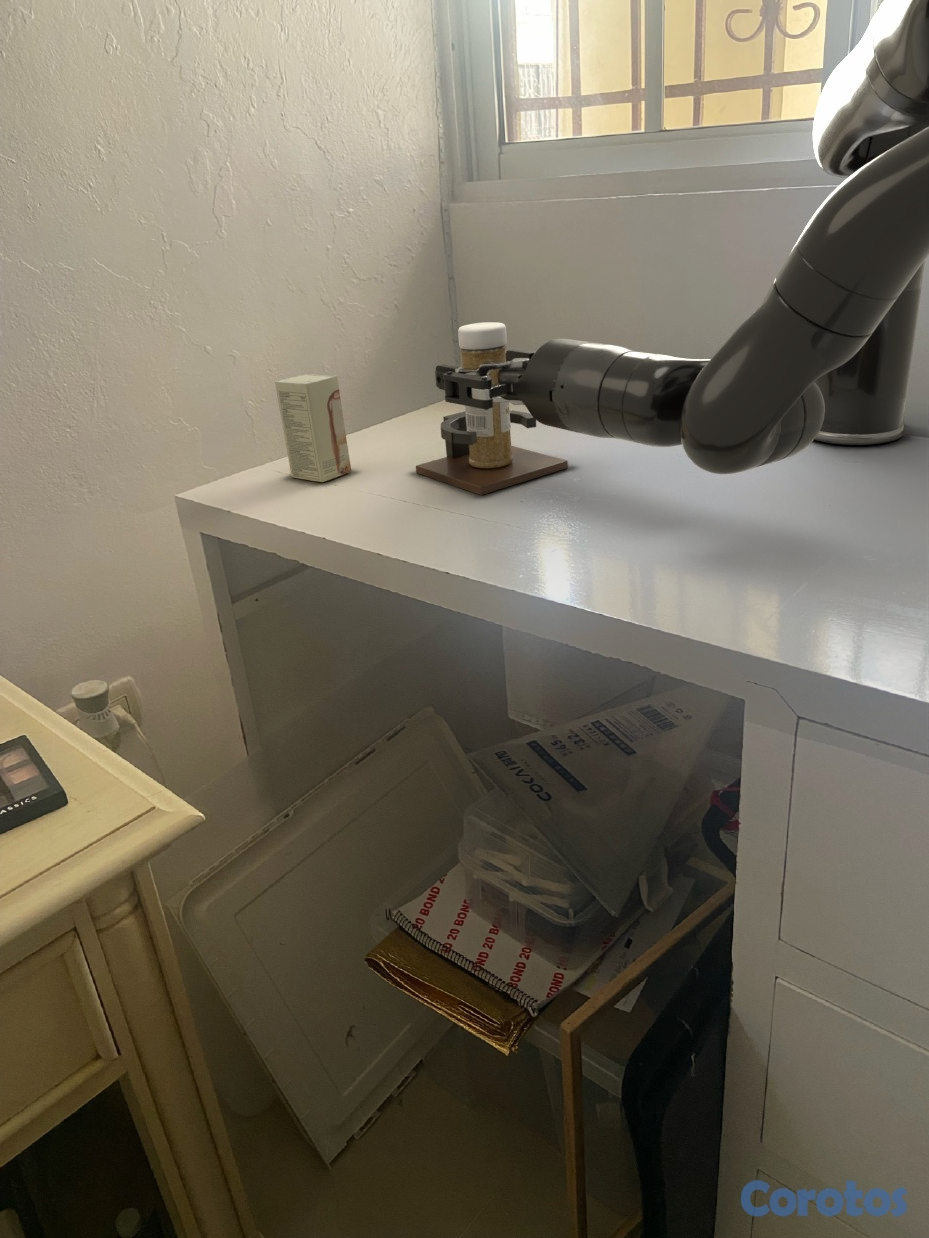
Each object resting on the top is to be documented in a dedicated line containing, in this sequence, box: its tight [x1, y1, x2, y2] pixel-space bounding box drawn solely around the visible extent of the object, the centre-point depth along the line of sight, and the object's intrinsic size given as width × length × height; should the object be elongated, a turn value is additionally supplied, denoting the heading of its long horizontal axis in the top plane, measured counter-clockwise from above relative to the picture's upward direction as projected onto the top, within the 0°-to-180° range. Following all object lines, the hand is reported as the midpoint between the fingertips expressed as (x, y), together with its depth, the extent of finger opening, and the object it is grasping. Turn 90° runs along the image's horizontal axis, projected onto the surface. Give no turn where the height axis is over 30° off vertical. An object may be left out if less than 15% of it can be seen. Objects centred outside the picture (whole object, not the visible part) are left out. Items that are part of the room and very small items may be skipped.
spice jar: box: [457, 321, 513, 469], centre depth 88 cm, size 5×5×14 cm
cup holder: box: [415, 409, 569, 496], centre depth 91 cm, size 11×11×5 cm
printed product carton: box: [274, 373, 352, 483], centre depth 93 cm, size 5×4×10 cm
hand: (474, 368), depth 89 cm, fingers open, 8 cm apart
